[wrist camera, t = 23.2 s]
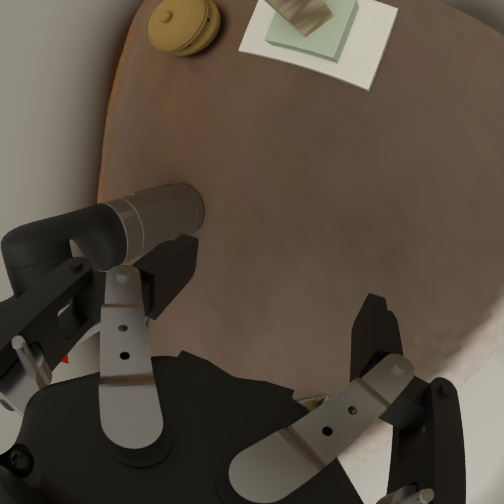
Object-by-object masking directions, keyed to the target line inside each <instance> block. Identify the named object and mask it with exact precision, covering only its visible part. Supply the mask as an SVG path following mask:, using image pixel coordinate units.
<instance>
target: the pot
mask: <svg viewBox="0 0 504 504" xmlns="http://www.w3.org/2000/svg"><path fill="white" fill-rule="evenodd" d="M220 23H221V22H220V13H219V10H218V7H217V6H216V4H215V3H214V2H213V1H211V0H164V1H162V2H161V3H160V4H159V5H158V6H157V8H156V9H155V10H154V12H153V14H152V15H151V18H150V20H149V25H148V35H149V39H150V41H151V43H152V45H153V46H154V47H155V48H156V49H157V50H159V51H162V52H167V53H170V54H172V55H176V56H186V55H190V54H193V53H196V52H198V51H200V50H202V49H204V48H205V47H206V46H208V45H209V44H210V43H211V42H212V41H213V40H214V38H215V37H216V35H217V33H218V31H219V28H220Z"/></svg>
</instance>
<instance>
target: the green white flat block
mask: <svg viewBox="0 0 504 504" xmlns="http://www.w3.org/2000/svg"><path fill="white" fill-rule="evenodd" d="M324 1H325V3H326V4H327V6H328V8H329V9H330V11H331V13H332V14H333V16H334V17H333V18H331V19H330V20H328V21H327V22H326V23H324V24H323V25H321V26H320V27H319V28H317V29H316V30H315V31H313V32H312V33H311V34H310V35H308V36H307V37H304V36H303V35H302V34H301V33H300V32H299V31H298V30H297V29H296V28H295V27H293V26H292V25H291V24H290V23H289V22H288V21H287V20H285V19H284V18H283V17H282V16H281V15H280V14H279V13H278V12H277V11H276V10H274V9H273V8H272V7H271V6H270V5H269V4H268V3H267V2H265V1H264V0H259V1H258V3H257V6H256V8H255V10H254V13H253V15H252V18H251V20H250V22H249V25H248V27H247V30H246V32H245V35H244V37H243V40H242V43H241V45H240V48H239V50H238V51H240V52H242V53H245V54H250V55H255V56H259V57H264V58H268V59H272V60H276V61H280V62H283V63H287V64H291V65H294V66H298V67H301V68H304V69H307V70H311V71H314V72H317V73H320V74H323V75H326V76H329V77H331V78H334V79H337V80H340V81H342V82H345V83H348V84H350V85H353V86H355V87H358V88H360V89H363V90H365V91H367V92H370V90H371V87H372V84H373V82H374V79H375V77H376V74H377V71H378V69H379V66H380V63H381V61H382V58H383V55H384V53H385V50H386V47H387V44H388V41H389V39H390V36H391V33H392V30H393V27H394V24H395V21H396V19H397V16H398V9H397V8H395V7H392V6H389V5H386V4H383V3H380V2H377V1H374V0H324Z"/></svg>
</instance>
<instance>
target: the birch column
mask: <svg viewBox="0 0 504 504" xmlns="http://www.w3.org/2000/svg"><path fill="white" fill-rule="evenodd" d="M264 1H265V2H267V3H268V4H269V5H270V6H271V7H272V8H273V9H274V10H276V11H277V12H278V13H279V14H280V15H281V16H282V17H283V18H284V19H285V20H287V21H288V22H289V23H290V24H291V25H292V26H293V27H295V28H296V29H297V30H298V31H299V32H300V33H301V34H302V35H303V36H304V37H307V36H308V35H310V34H311V33H312V32H313V31H315V30H316V29H317V28H319V27H320V26H321V25H323V24H324V23H326V22H327V21H328V20H330V19H331V18H333V17H334V16H333V14H332V13H331V11H330V9H329V8H328V6H327V4H326V3H325V1H324V0H264Z"/></svg>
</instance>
